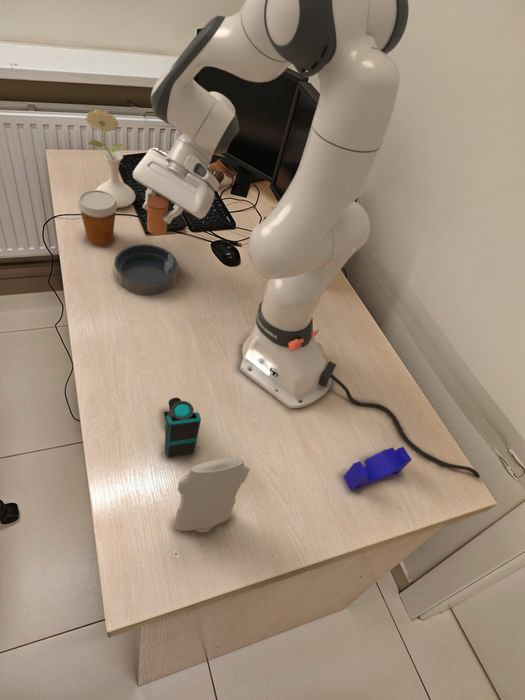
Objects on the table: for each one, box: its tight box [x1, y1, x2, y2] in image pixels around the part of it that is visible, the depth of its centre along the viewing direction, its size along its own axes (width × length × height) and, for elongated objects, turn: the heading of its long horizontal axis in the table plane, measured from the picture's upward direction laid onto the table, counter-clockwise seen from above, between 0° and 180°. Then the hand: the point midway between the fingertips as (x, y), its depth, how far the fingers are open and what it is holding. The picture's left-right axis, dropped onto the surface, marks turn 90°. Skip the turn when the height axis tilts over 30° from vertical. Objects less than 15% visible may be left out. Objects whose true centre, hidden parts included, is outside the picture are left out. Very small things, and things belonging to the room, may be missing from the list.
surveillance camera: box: [163, 397, 202, 458], centre depth 86 cm, size 6×12×10 cm
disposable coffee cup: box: [76, 189, 118, 246], centre depth 119 cm, size 10×10×12 cm
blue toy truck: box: [343, 446, 413, 491], centre depth 91 cm, size 12×4×6 cm, turn 114°
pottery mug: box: [207, 158, 237, 187], centre depth 150 cm, size 12×10×8 cm
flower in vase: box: [84, 109, 137, 209], centre depth 126 cm, size 13×11×25 cm
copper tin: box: [146, 195, 170, 236], centre depth 108 cm, size 5×5×8 cm
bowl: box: [113, 243, 179, 296], centre depth 116 cm, size 15×15×4 cm
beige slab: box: [174, 457, 250, 534], centre depth 72 cm, size 11×4×22 cm, turn 107°
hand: (155, 215), depth 107 cm, fingers closed on copper tin, 4 cm apart
